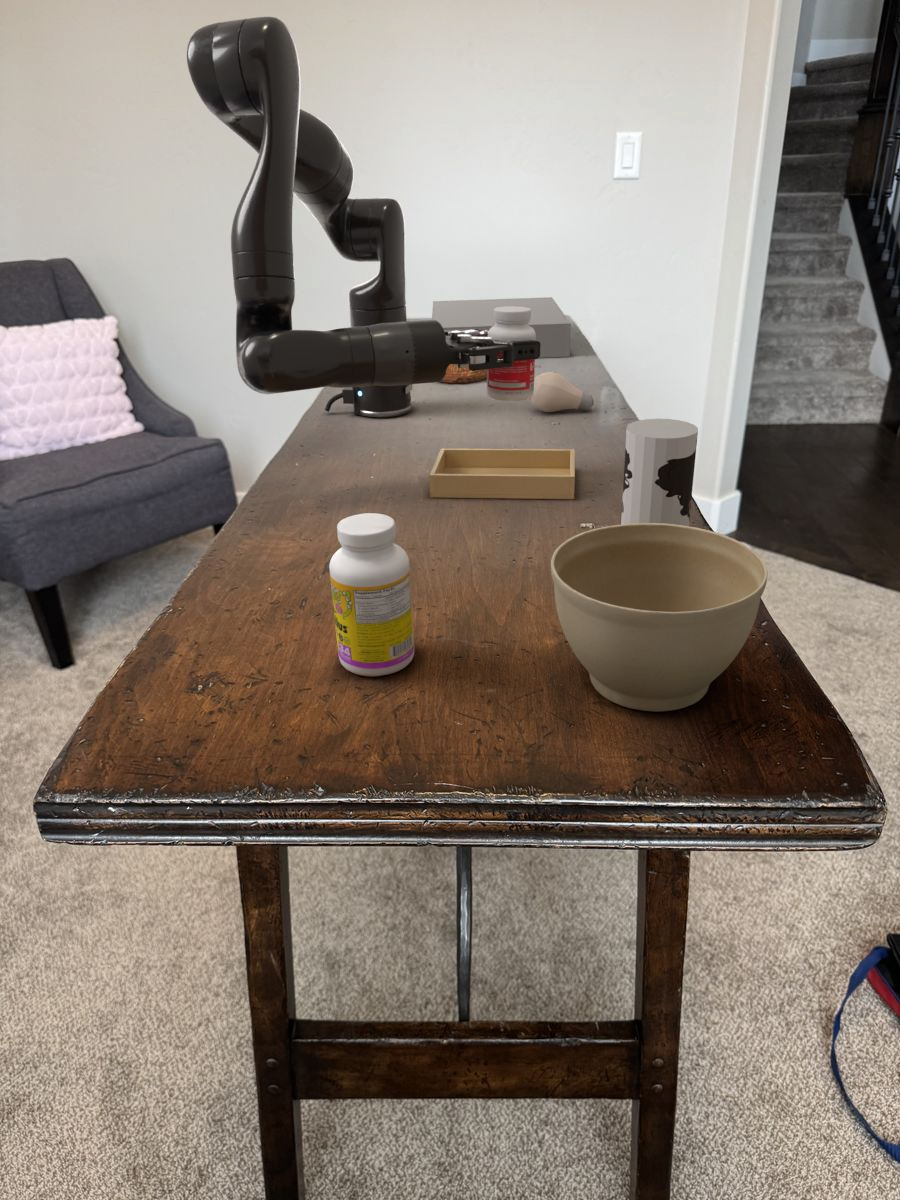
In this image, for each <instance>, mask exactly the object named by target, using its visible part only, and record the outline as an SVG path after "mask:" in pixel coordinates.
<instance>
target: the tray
mask: <svg viewBox="0 0 900 1200" xmlns="http://www.w3.org/2000/svg"><path fill="white" fill-rule="evenodd" d="M575 455H576V450H575V449H573V448H443V447H442V448H440V450H439V452H438V455H437V457H436V459H435V461H434V464H433V466H432V468H431V470H430V473H429V496H430V497H429V498H441V499H443V498H447V499H448V498H449V499H517V500H519V499H521V500H524V499H525V500H530V499H531V500H575V487H576V486H575V485H576V484H575V483H576V458H575V457H576V456H575Z"/></svg>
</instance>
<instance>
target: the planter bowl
mask: <svg viewBox="0 0 900 1200" xmlns="http://www.w3.org/2000/svg"><path fill="white" fill-rule="evenodd" d="M768 571H769V570H768V567H767V564H766V563H765V561H764V559H763V558H762V557H761V556H760V555H759V554H758V553H757V552H756V551H755V550H754V549H752V548H750V547H749V546H748V545H746V544H744V543H742V542H741V541H739V540H737V539H735V538H732V537H729V536H728V535H725V534H723V533H719V532H716V531H713V530H708V529H704V528H700V527H695V526H690V525H689V526H683V525H676V524H665V523H631V524H622V525H621V524H615V525H608V526H602V527H597V528H593V529H589V530H586V531H583V532H581V533H579V534H578V533H577V534H575V535H573V536H571V537H569V538H568V539H566V540H565V541H563V542H562V543H561V544H559V546H558V547H557V548H556V549H555V550H554V552H553V554H552V556H551V559H550V573H551V578H552V582H553V590H554V601H555V608H556V613H557V616H558V620H559V624H560V627H561V630H562V633H563V635H564V637H565V639H566V641H567V643H568V644H569V647H570V648H571V650H572V652H573V654H574V655H575V656H576V658H577V659H578V661H579V662H580V663H581V665H582V666H583V667H584V668H585V669H586V671H587V672H588V674H589V679H590V682H591V684H592V686H593V688H594V689H595V690H596V691H597V692H598V693H599V694H600V695H601V696H602V697H604V698H605V699H606V700H609V701H610V702H612V703H614V704H616V705H619V706H621V707H624V708H628V709H632V710H636V711H643V712H653V713H654V712H657V713H658V712H670V711H671V712H672V711H676V710H681V709H684V708H688V707H690V706H692V705H694V704H696V703H698V702H699V701H701V700H702V698H703V697H704V696H705V695H706V694H707V693H708V691H709V689H710V688H709V687H710V685H711V683H712V682H714V680H716V679H717V678H718V677H719V676H720V675H722V673H723V672H724V671H726V669H727V668H729V666H730V665H731V664H732V663H733V661H734V660H735V659H736V658H737V656H738V655H739V653H740V652H741V650H742V649H743V647H744V645H745V643H746V642H747V640H748V638H749V636H750V634H751V633H752V632H751V631H752V629H753V627H754V624H755V621H756V619H757V615H758V612H759V609H760V605H761V604H760V603H761V598H762V596H763V594H764V592H765V589H766V585H767V582H768V576H769V572H768Z"/></svg>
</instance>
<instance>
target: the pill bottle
mask: <svg viewBox="0 0 900 1200" xmlns="http://www.w3.org/2000/svg"><path fill="white" fill-rule="evenodd" d="M493 318H494V321H495V322H496V323H495V326H493V327H491V328H490V330H489V331H488V337H492V338H494V340H495V341H505V342H506V341H510V342H516V341H530V340H536V333H535V331H534V329H533V328H532V327H531V326H529V321H530V319H531V309H530V308H526V307H514V306H506V307H497V308H495V309H494V317H493ZM497 357H503V351H499V352H498V353H497ZM535 367H536V359H531V360H518V361H513V366H511V367H502V368H493V369H487V377H486V395H487V396H488V397H489V398H491V399H493V400H496V401H501V402H518V401H519V402H520V401H525V400H529V399H530V397H532V395H533V392H534V379H535V369H536V368H535Z"/></svg>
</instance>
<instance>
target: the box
mask: <svg viewBox="0 0 900 1200" xmlns="http://www.w3.org/2000/svg"><path fill="white" fill-rule="evenodd" d="M506 306H514V307H526V308H530V309H531V319H530V321H529V326H531V327H532V328H533V329H534V331H535V333H536V340H537V341H539V342H540V344H541V347H540V357H539V358H541V359H543V358H570V357H571V333H572V332H571V331H572V327H571V325H572V324H571V321H570V320H569V319H568V317H567V316H566V315H565V313H564V312H563V311H562V309H561V308H560V307H559V305H558V303H557V302H556V301H555V300H554V298H553V296H551V297H550V296H549V297H548V296H546V297H545V296H544V297H519V298H518V297H517V298H515V297H513V298H495V299H494V298H492V299H491V298H489V299H460V300H459V299H458V300H433V301H432V309H431V310H432V312H431V320H437V321H438V322H439V323H440V324H441V325H442V327H443V329H444V330H467V329H475V328H478V329H481V332H482V331H484V330H487V331H489V330H490V328H491V327H493V326H495V323H496V322H495V321H494V318H493V317H494V309H495V308H497V307H506ZM539 358H538V359H539Z"/></svg>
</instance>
